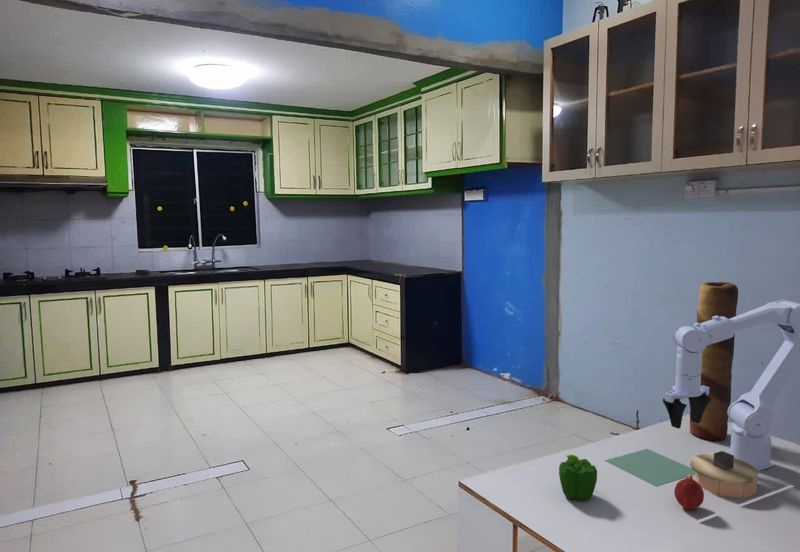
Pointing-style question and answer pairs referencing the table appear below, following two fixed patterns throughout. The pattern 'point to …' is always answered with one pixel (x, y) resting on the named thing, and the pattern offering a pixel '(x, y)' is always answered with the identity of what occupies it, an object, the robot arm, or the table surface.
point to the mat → (651, 467)
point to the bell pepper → (577, 478)
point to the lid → (724, 468)
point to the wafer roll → (716, 360)
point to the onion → (689, 493)
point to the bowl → (726, 487)
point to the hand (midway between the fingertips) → (685, 424)
